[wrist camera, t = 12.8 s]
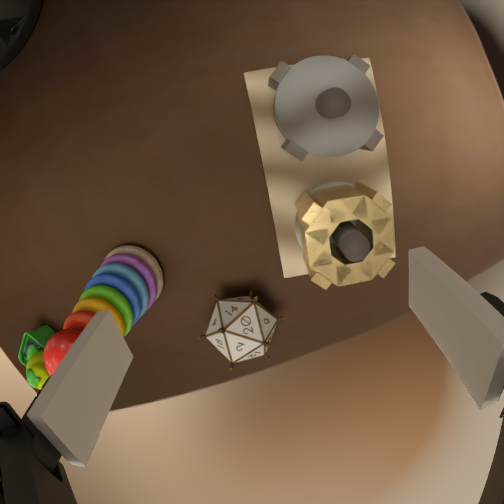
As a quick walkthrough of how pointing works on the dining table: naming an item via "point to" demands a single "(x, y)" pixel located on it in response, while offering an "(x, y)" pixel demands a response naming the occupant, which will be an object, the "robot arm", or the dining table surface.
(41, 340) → the fruit basket
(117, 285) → the stacking toy
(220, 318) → the game die
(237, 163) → the dining table surface
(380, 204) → the brass gear
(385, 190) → the gear board
